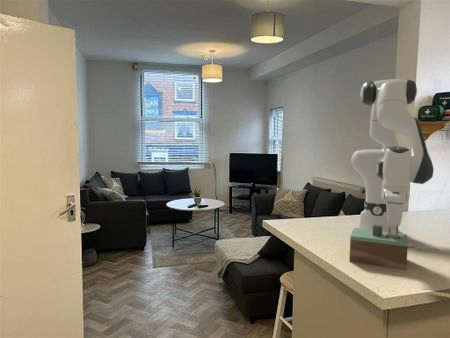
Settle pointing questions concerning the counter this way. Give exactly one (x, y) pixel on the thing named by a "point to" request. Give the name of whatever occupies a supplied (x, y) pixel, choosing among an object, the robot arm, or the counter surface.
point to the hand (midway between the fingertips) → (393, 232)
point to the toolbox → (378, 254)
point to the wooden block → (393, 235)
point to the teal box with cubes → (378, 236)
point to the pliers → (419, 247)
